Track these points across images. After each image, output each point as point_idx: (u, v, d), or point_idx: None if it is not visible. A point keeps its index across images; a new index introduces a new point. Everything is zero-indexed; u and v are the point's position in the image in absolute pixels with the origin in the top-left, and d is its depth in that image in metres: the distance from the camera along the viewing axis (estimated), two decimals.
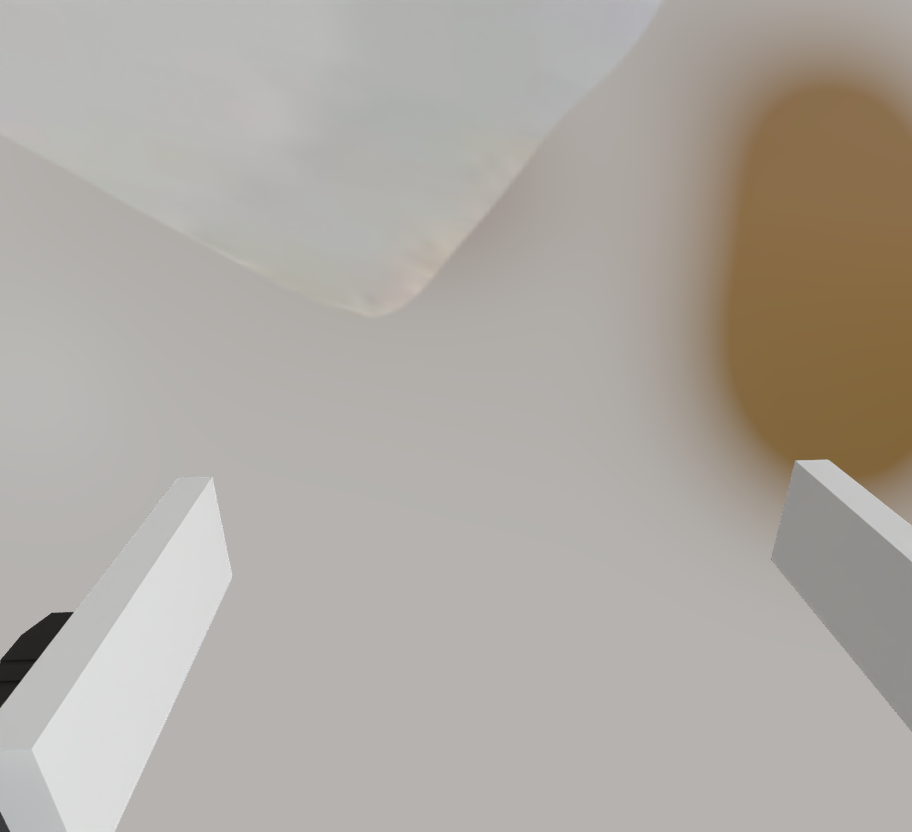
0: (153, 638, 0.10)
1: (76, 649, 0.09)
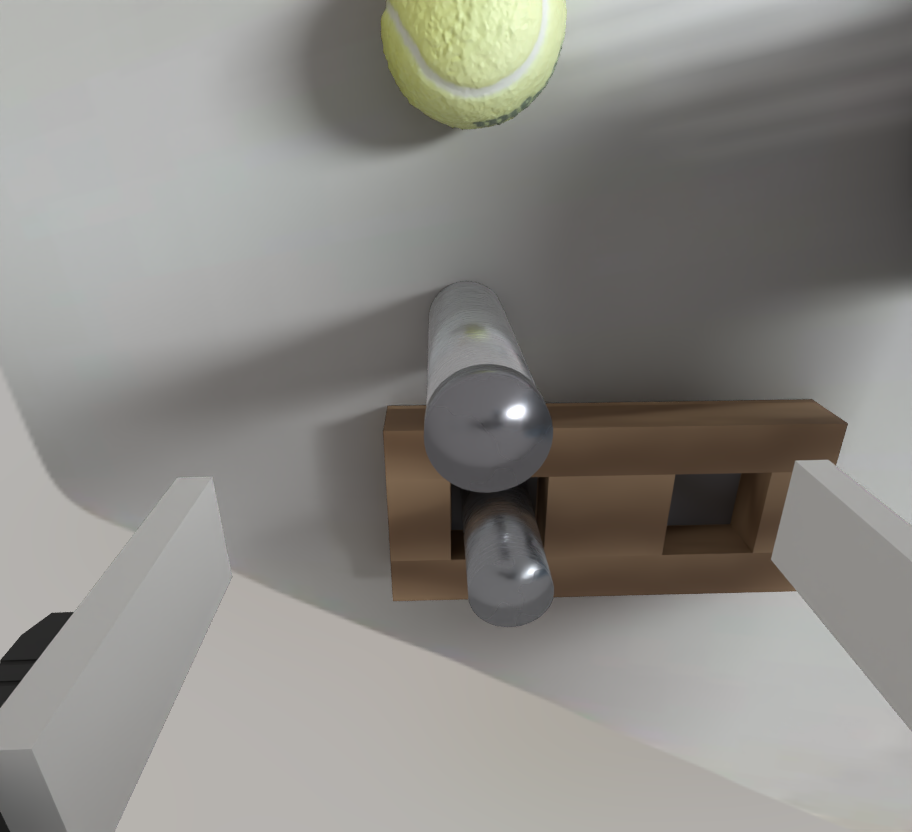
0: (153, 638, 0.10)
1: (76, 649, 0.09)
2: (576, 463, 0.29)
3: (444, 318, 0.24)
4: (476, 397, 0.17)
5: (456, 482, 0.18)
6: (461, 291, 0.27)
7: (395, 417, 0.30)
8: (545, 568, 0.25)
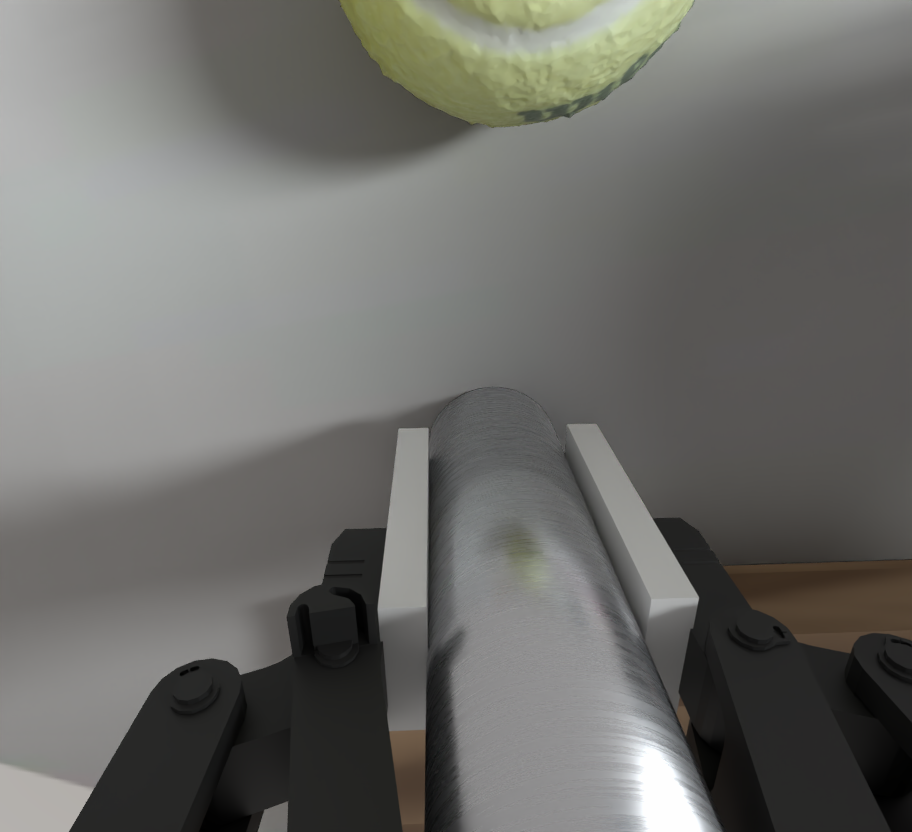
0: None
1: (409, 546, 0.11)
2: None
3: (459, 504, 0.12)
4: None
5: None
6: (487, 420, 0.15)
7: None
8: None
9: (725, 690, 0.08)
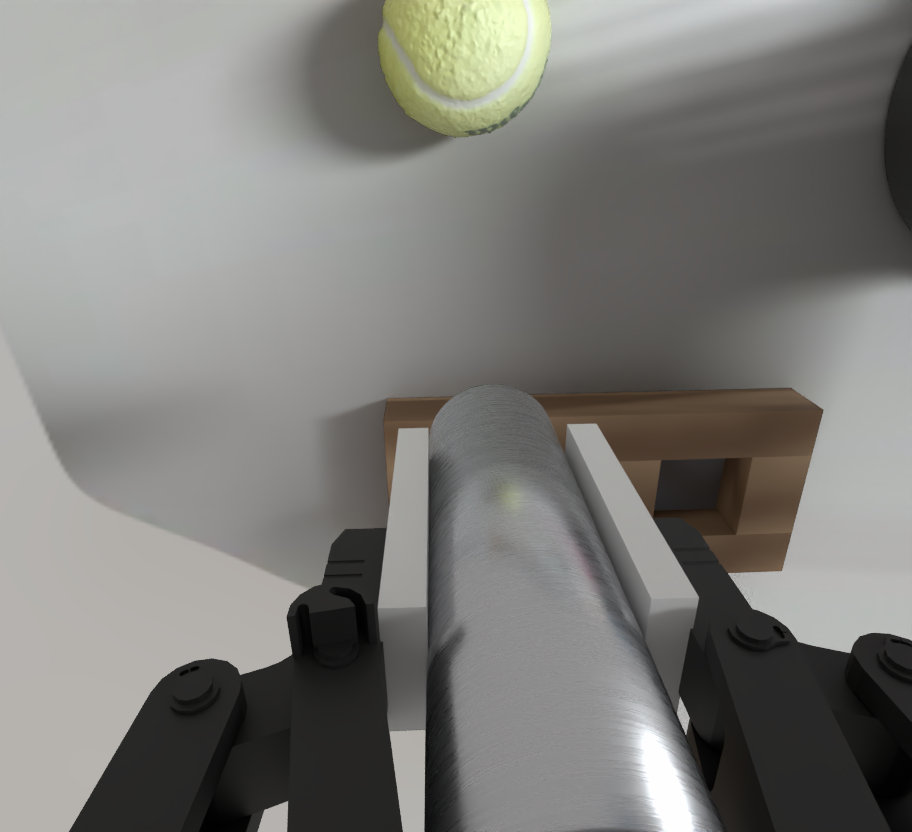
0: None
1: (409, 545, 0.11)
2: None
3: (459, 498, 0.12)
4: None
5: None
6: (486, 416, 0.15)
7: (394, 409, 0.31)
8: None
9: (725, 690, 0.08)
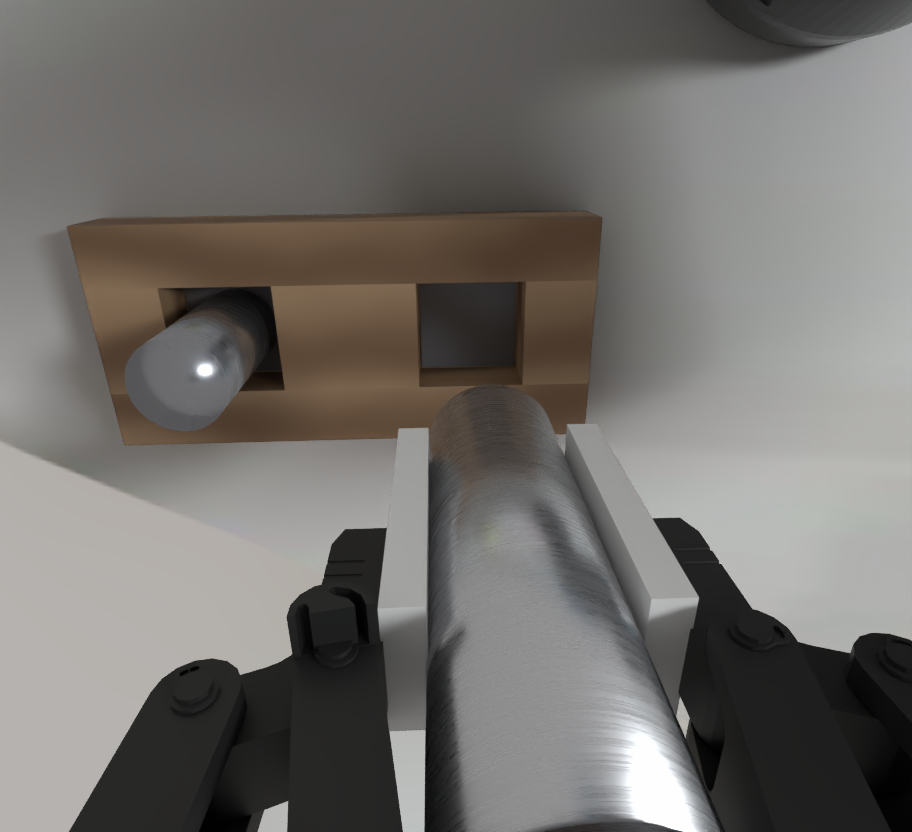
0: None
1: (410, 546, 0.11)
2: (299, 269, 0.26)
3: (458, 497, 0.12)
4: None
5: None
6: (485, 416, 0.15)
7: (97, 221, 0.26)
8: (212, 354, 0.22)
9: (725, 691, 0.08)
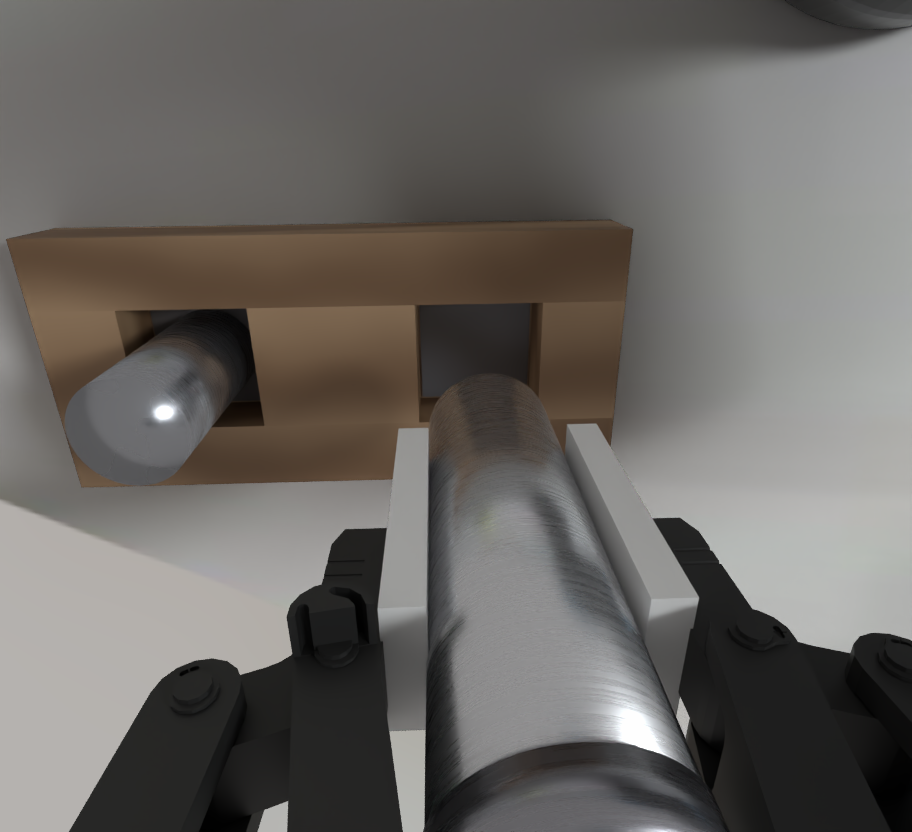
0: None
1: (409, 545, 0.11)
2: (279, 288, 0.22)
3: (457, 475, 0.13)
4: None
5: None
6: (483, 402, 0.16)
7: (46, 233, 0.23)
8: (169, 396, 0.18)
9: (726, 690, 0.08)
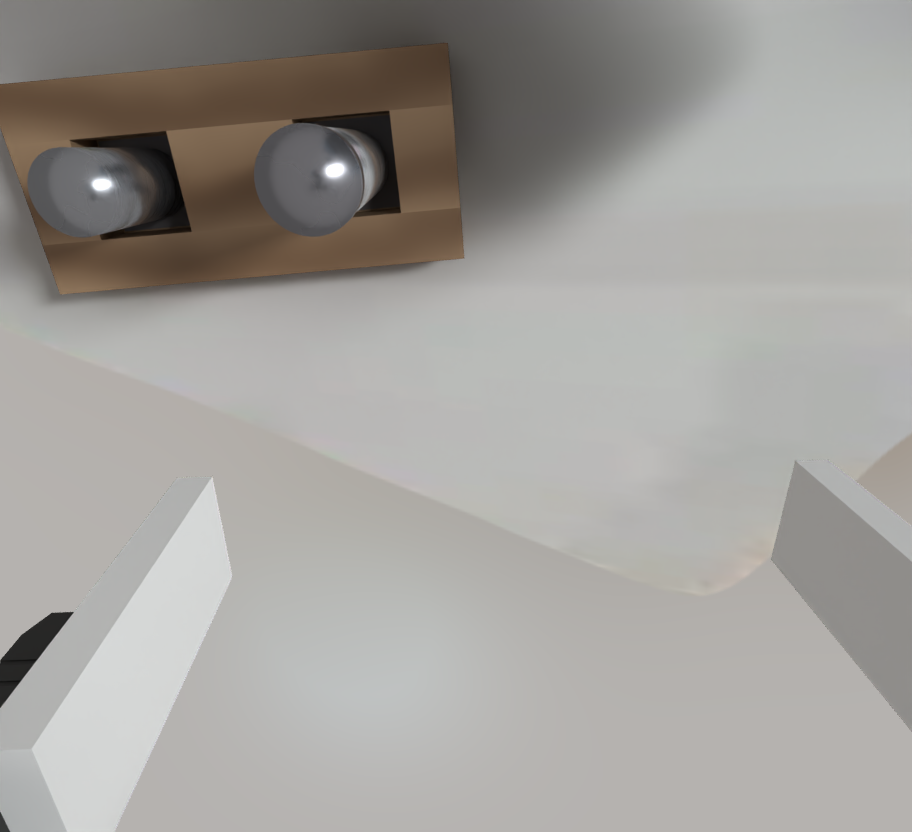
0: (153, 638, 0.10)
1: (76, 649, 0.09)
2: (188, 112, 0.29)
3: None
4: (291, 144, 0.21)
5: (290, 228, 0.22)
6: None
7: None
8: (99, 163, 0.25)
9: None
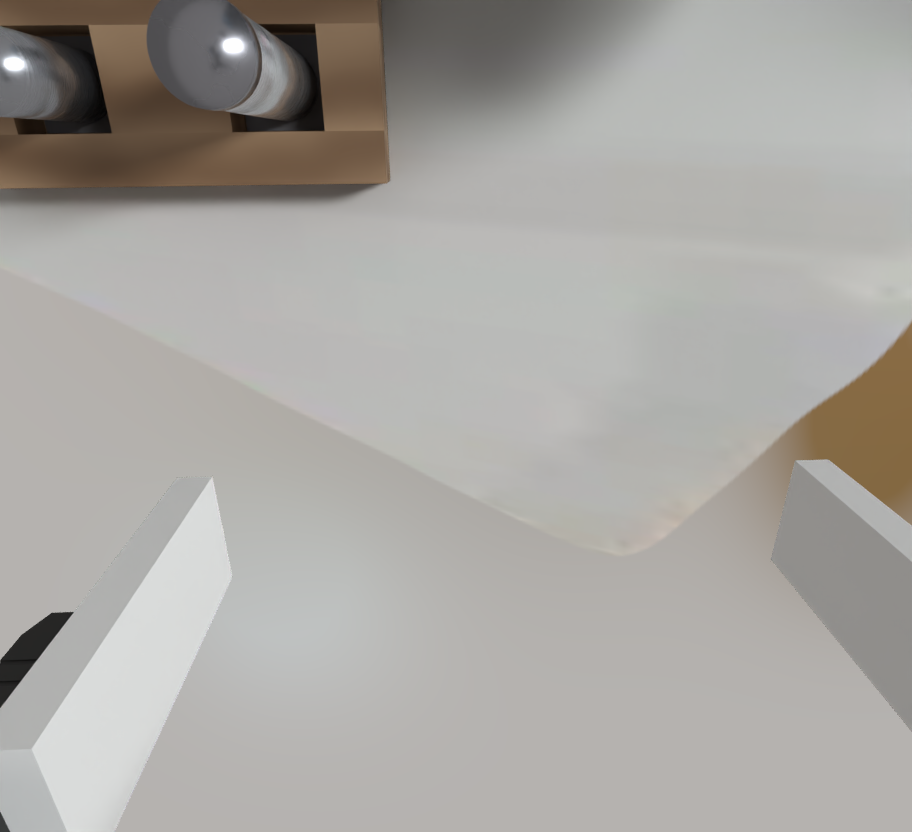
0: (153, 638, 0.10)
1: (76, 649, 0.09)
2: (111, 7, 0.29)
3: None
4: (184, 9, 0.21)
5: (183, 98, 0.22)
6: None
7: None
8: (11, 40, 0.25)
9: None
